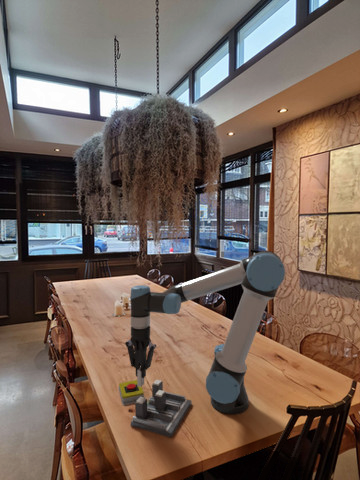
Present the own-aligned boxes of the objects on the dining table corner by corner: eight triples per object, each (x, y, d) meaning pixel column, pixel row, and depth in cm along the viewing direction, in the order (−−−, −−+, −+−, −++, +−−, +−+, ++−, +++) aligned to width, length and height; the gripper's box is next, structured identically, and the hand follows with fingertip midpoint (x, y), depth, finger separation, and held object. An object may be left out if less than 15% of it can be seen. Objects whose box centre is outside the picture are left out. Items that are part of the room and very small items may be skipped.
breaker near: (147, 415, 107) (147, 397, 106) (142, 421, 103) (142, 403, 103) (140, 413, 108) (140, 395, 108) (135, 419, 104) (135, 401, 104)
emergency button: (122, 396, 115) (117, 378, 129) (122, 406, 115) (117, 387, 129) (145, 391, 118) (138, 374, 132) (145, 402, 118) (138, 383, 133)
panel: (191, 404, 116) (191, 396, 116) (171, 437, 97) (171, 428, 97) (156, 395, 122) (156, 388, 122) (130, 425, 103) (130, 417, 103)
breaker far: (162, 396, 119) (162, 380, 118) (158, 400, 115) (158, 384, 115) (156, 394, 120) (156, 379, 120) (152, 399, 116) (152, 383, 116)
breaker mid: (166, 407, 111) (165, 390, 111) (161, 413, 108) (161, 395, 107) (159, 405, 112) (158, 389, 112) (154, 411, 109) (154, 394, 108)
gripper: (159, 324, 113) (159, 383, 114) (131, 320, 118) (131, 377, 119) (150, 331, 106) (150, 393, 107) (120, 326, 111) (121, 386, 112)
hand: (140, 384), depth 113 cm, fingers closed
